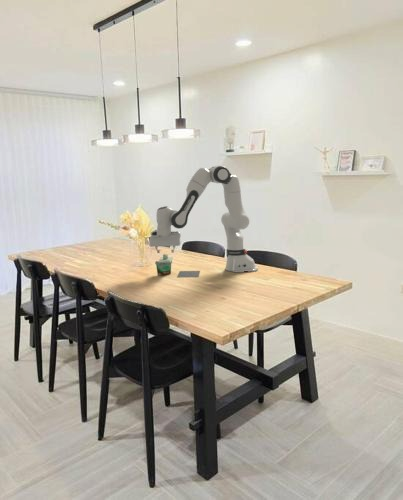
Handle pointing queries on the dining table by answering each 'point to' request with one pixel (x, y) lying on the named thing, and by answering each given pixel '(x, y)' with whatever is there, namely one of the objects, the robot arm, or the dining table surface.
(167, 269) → the food container
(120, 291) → the dining table surface
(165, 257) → the lid
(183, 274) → the mat
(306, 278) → the dining table surface
